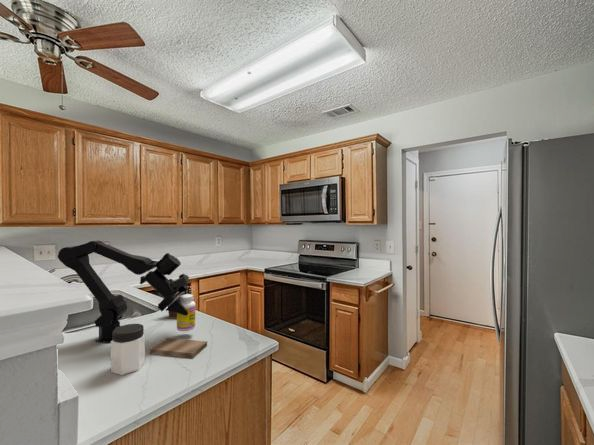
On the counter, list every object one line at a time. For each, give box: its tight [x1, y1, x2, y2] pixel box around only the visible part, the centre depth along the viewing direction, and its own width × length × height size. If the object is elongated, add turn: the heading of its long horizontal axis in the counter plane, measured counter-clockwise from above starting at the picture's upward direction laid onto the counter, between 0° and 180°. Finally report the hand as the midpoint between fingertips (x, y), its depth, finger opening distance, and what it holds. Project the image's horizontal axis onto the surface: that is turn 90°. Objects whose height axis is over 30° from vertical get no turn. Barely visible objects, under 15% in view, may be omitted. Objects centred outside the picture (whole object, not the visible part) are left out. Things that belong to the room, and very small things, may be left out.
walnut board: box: [149, 337, 208, 359], centre depth 96 cm, size 16×9×2 cm, turn 80°
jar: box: [110, 323, 146, 376], centre depth 84 cm, size 9×8×12 cm
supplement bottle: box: [176, 293, 196, 332], centre depth 107 cm, size 7×7×13 cm
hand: (190, 311), depth 107 cm, fingers closed on supplement bottle, 7 cm apart
